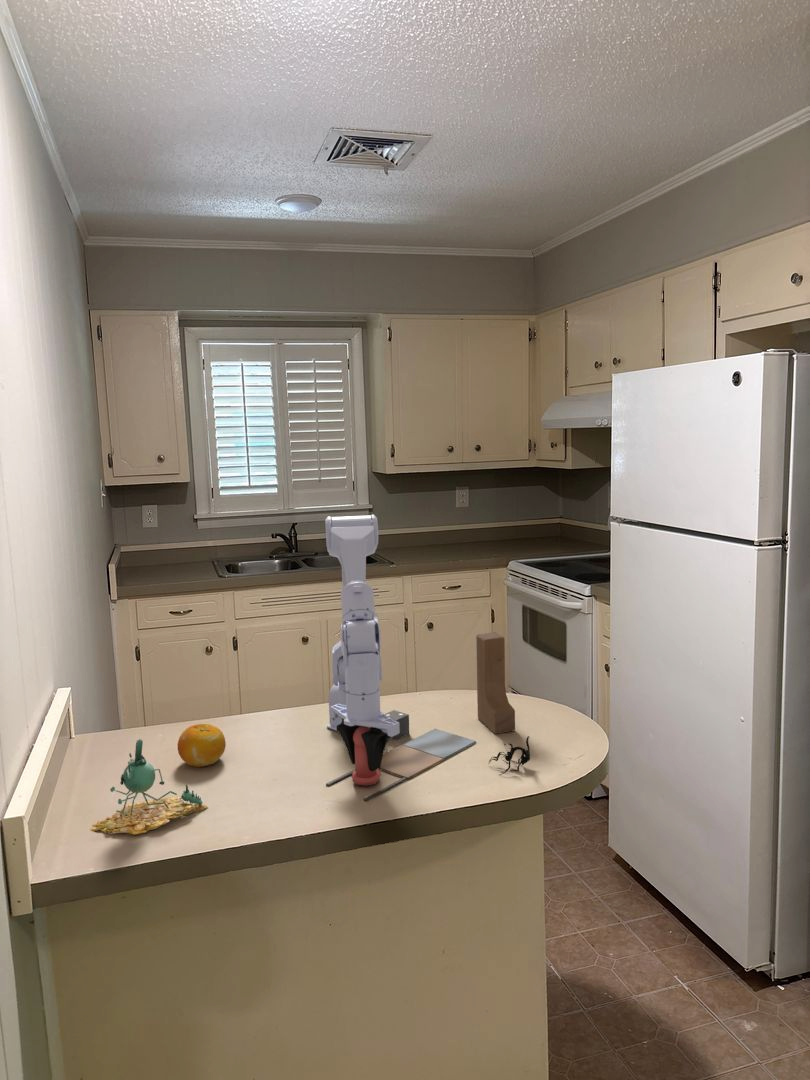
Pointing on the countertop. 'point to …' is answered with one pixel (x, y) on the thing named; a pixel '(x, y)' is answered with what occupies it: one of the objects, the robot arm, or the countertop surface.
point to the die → (400, 723)
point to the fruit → (201, 745)
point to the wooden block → (493, 684)
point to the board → (417, 756)
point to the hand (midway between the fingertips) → (365, 765)
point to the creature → (510, 754)
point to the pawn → (362, 761)
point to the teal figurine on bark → (147, 812)
